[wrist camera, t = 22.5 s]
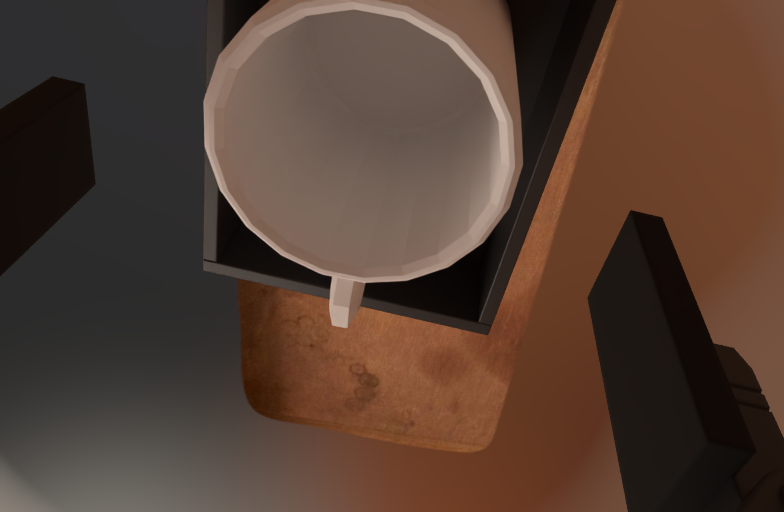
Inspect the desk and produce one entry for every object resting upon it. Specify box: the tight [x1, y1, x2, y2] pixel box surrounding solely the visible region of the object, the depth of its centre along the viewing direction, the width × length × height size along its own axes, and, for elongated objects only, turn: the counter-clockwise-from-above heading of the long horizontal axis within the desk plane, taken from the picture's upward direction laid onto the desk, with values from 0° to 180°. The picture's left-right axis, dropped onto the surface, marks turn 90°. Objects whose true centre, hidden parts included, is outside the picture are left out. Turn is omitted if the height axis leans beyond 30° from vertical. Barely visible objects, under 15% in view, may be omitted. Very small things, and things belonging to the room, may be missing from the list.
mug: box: [204, 0, 523, 328], centre depth 21 cm, size 8×12×10 cm
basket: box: [203, 0, 617, 335], centre depth 24 cm, size 16×12×5 cm
